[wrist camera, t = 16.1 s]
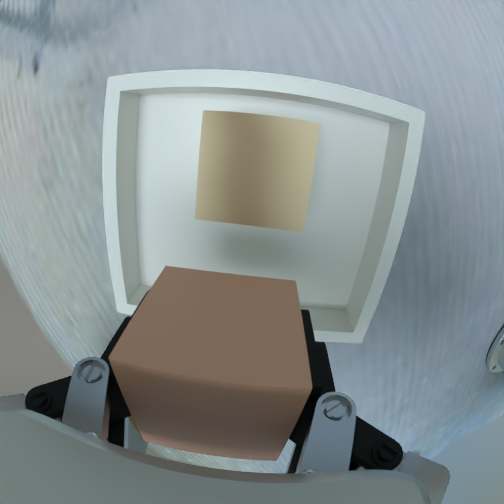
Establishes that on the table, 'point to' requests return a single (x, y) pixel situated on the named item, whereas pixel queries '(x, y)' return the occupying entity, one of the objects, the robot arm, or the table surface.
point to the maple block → (255, 169)
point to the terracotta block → (215, 363)
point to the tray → (253, 237)
